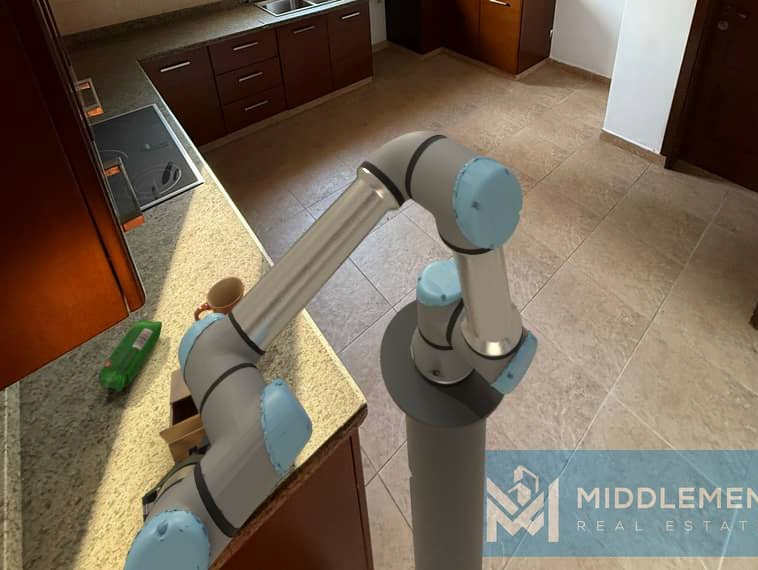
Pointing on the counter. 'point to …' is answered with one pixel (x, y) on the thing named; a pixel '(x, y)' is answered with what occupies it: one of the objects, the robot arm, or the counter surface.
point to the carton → (182, 417)
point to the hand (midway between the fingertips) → (209, 443)
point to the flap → (181, 429)
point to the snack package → (130, 354)
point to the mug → (222, 296)
